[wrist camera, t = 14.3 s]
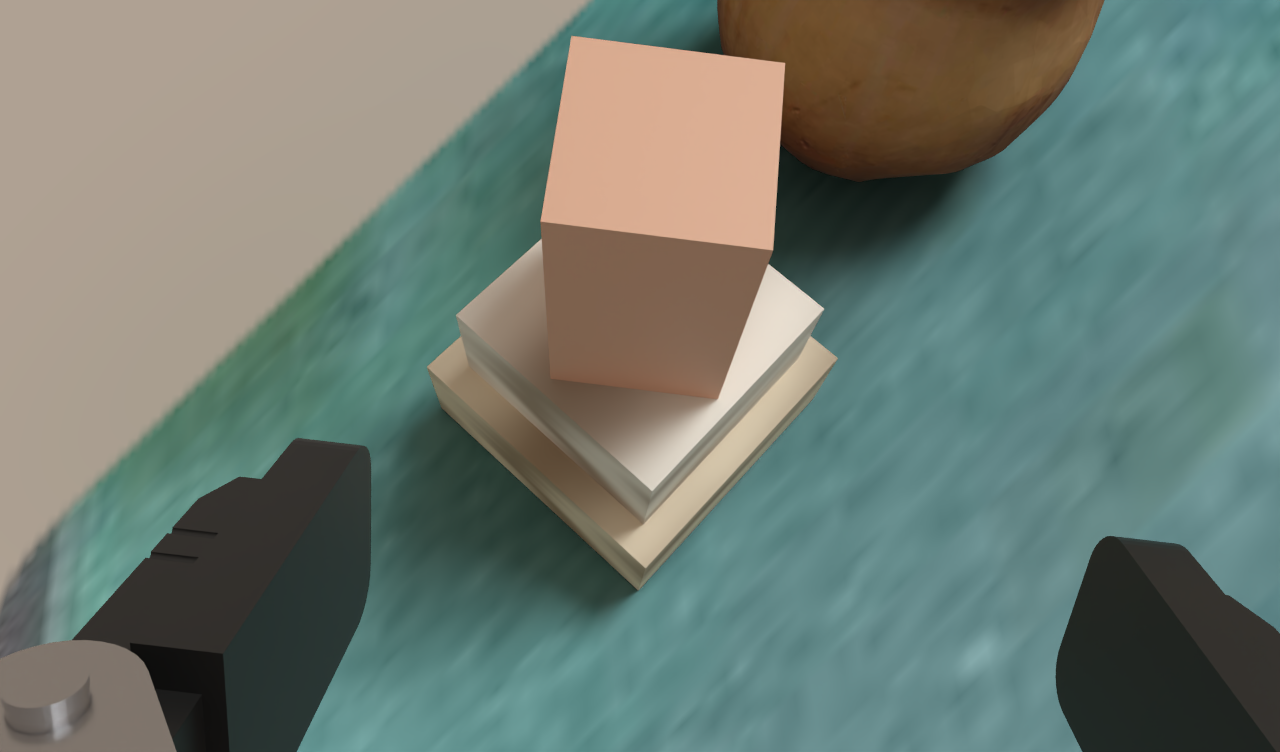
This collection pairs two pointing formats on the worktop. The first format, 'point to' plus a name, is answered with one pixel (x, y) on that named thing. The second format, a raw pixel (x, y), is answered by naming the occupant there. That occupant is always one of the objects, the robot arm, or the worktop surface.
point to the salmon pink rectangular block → (658, 213)
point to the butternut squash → (909, 76)
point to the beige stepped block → (625, 417)
